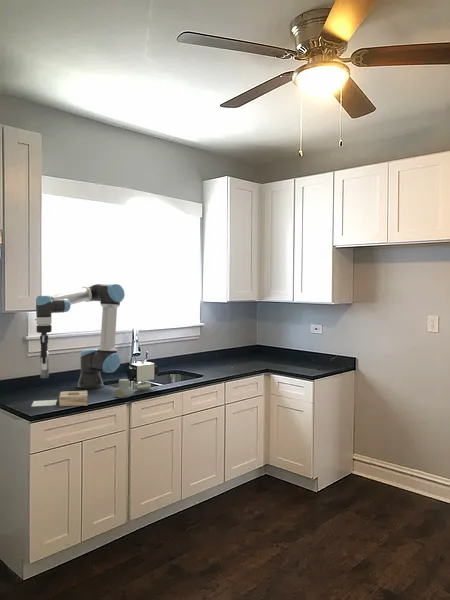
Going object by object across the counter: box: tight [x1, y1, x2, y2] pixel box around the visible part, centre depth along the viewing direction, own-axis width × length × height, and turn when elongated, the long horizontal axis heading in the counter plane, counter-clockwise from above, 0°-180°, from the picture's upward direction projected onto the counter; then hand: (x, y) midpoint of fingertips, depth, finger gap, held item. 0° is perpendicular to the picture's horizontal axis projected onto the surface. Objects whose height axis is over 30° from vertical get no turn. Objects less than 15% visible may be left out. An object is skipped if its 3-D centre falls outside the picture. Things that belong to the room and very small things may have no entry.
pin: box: [39, 350, 50, 379], centre depth 265 cm, size 4×4×14 cm
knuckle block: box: [58, 390, 88, 407], centre depth 268 cm, size 14×14×5 cm
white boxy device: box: [126, 360, 159, 392], centre depth 301 cm, size 18×8×18 cm, turn 129°
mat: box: [30, 399, 58, 407], centre depth 266 cm, size 12×12×1 cm
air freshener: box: [113, 378, 135, 399], centre depth 283 cm, size 11×8×10 cm
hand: (44, 368), depth 265 cm, fingers closed on pin, 4 cm apart
